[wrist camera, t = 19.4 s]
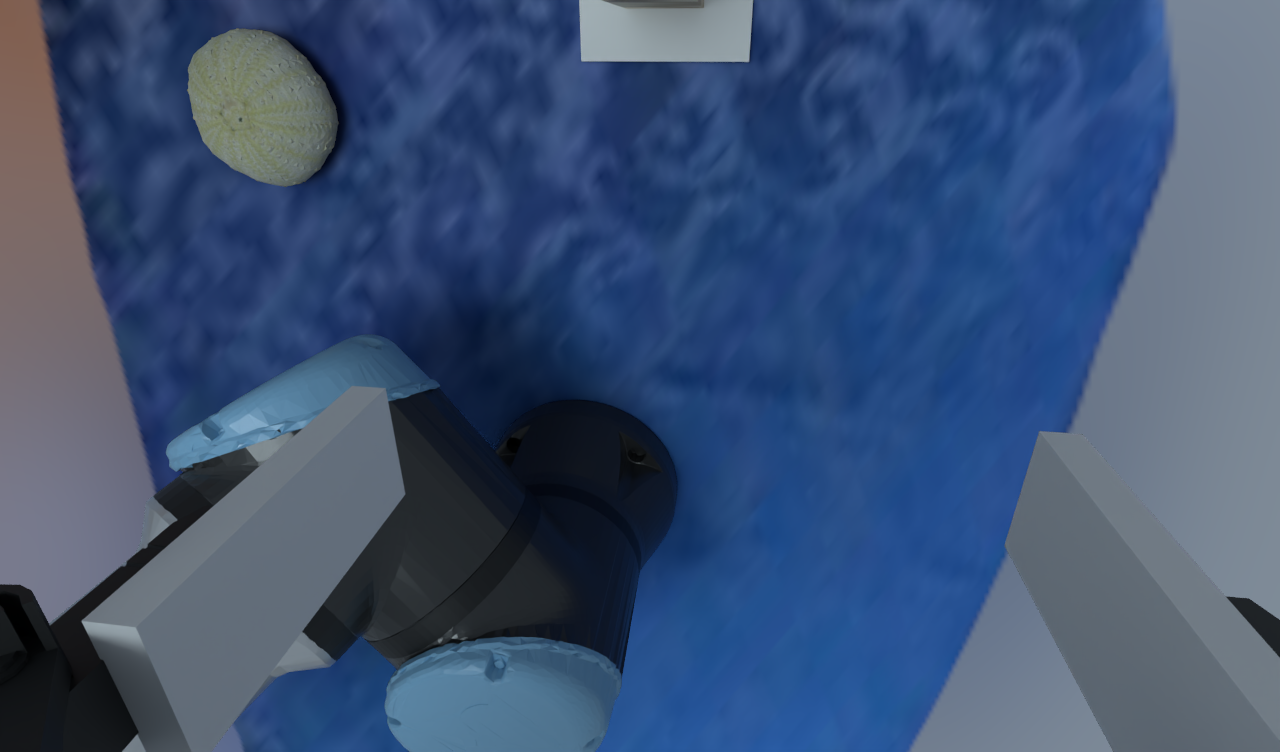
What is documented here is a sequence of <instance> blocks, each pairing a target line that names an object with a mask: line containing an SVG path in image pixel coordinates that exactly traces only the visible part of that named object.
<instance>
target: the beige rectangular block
mask: <svg viewBox="0 0 1280 752" xmlns="http://www.w3.org/2000/svg"><path fill="white" fill-rule="evenodd" d="M602 1H605V2H608V3H611V4H614V5H617V6H620V7H623V8H626V9H639V8H704V0H602Z"/></svg>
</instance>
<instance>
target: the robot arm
mask: <svg viewBox="0 0 1280 752" xmlns="http://www.w3.org/2000/svg"><path fill="white" fill-rule="evenodd" d="M439 387H441V386H440V385H439V383H438V382H437V381H436V380H433V379H430V378H429V377H428V376H427V375H426V374H425V373H424V372H423V371H422V370H421V369H420V368H419V367H418V366H417V365H416V364H415V363H414V362H413V361H412V360H411V359H410V358H409V357H408V356H407V355H406V354H405V353H404V352H403V351H402V350H401V349H400V348H399V347H398V346H397V345H396V344H395V343H393V342H392V341H390V340H389V339H387V338H384V337H382V336H378V335H359V336H355V337H352V338H349V339H346V340H344V341H342V342H340V343H338V344H336V345H334V346H332V347H330V348H328V349H326V350H324V351H322V352H320V353H318V354H316V355H314V356H312V357H311V358H309V359H307V360H305V361H303V362H301V363H300V364H298V365H296V366H294V367H292V368H290V369H289V370H287V371H285V372H283V373H281V374H280V375H278V376H276V377H274V378H273V379H271V380H269V381H267V382H266V383H264V384H262V385H260V386H259V387H257V388H255V389H254V390H252V391H250V392H249V393H247V394H245V395H243V396H242V397H240V398H238V399H237V400H235V401H234V402H232V403H230V404H229V405H227V406H225V407H224V408H222V409H221V410H220V411H219V412H218V413H215V414H213V415H212V416H210V417H208V418H207V419H206V420H204V421H203V422H201V423H200V424H197V425H195V426H193V427H191V428H190V429H188V430H187V431H185V432H184V433H182V434H181V435H179V436H178V437H176V438H175V439H174V440H173V441H171V442H170V444H169V445H168V446H167V451H166V455H167V456H168V458H169V460H170V462H169V466H170V468H172V469H173V470H175V471H176V472H177V471H179V470H181V471H183V473H182V474H180V476H179V477H177V478H176V479H175V480H174V481H172V482H171V483H170V484H168V485H167V486H166V487H164V488H163V489H162V490H161V491H159V492H158V493H157V494H155V495H154V496H153V497H151V498H150V499H149V500H148V501H147V502H146V507H145V515H144V523H143V531H142V538H141V542H140V545H139V547H138V549H137V552H136V554H135V555H133V556H132V557H131V558H130V559H128V560H127V561H126V562H125V563H123V564H122V565H121V566H120V567H118V568H117V569H116V570H115V571H114V572H112V573H111V574H110V575H109V576H107V577H106V578H105V579H104V580H102V581H101V582H100V583H99V584H97V585H96V586H95V587H94V588H92V589H91V590H90V591H89V592H88V593H86V594H85V595H84V596H83V597H81V598H80V599H79V600H78V601H76V602H75V603H74V604H73V605H71V606H70V607H69V608H68V609H66V610H65V611H64V612H63V613H61V614H60V615H59V616H58V617H57V618H55V619H54V620H53V621H52V622H50V623H48V621H47V619H46V617H45V615H44V613H43V612H42V610H41V608H40V606H39V604H38V602H37V600H36V598H35V596H34V594H33V592H32V591H31V590H29V589H27V588H25V587H23V586H21V585H0V752H212V751H213V749H214V748H215V747H216V745H217V744H218V742H219V741H220V740H221V738H222V737H223V736H224V735H225V733H226V732H227V731H228V729H229V728H230V727H231V725H232V724H233V723H234V721H235V720H236V719H237V718H238V717H239V716H240V715H241V714H242V713H243V711H244V710H245V709H246V708H247V707H248V706H249V705H250V704H251V703H252V702H253V701H254V700H255V699H256V698H257V697H258V696H259V695H260V694H261V693H262V692H263V691H264V690H265V689H266V688H267V687H268V686H269V685H270V684H271V683H272V682H273V681H274V680H275V679H276V678H277V677H279V676H281V675H283V674H285V673H288V672H292V671H300V670H308V669H317V668H325V667H330V666H331V665H332V664H334V663H335V662H336V661H337V660H338V659H339V658H340V657H341V656H342V655H343V654H344V653H345V652H346V651H347V650H348V648H349V647H350V646H351V645H352V644H353V643H354V642H355V641H356V640H357V639H358V638H359V637H360V636H362V637H363V638H364V639H365V640H367V641H368V642H369V643H370V644H371V645H372V646H373V647H374V648H375V649H376V650H377V651H379V652H380V653H381V654H382V655H383V656H384V657H385V658H386V659H387V660H388V661H389V662H390V663H391V664H392V665H393V666H394V667H395V668H396V669H397V671H395V672H394V674H393V675H392V677H391V679H390V681H389V682H388V686H387V696H386V701H385V711H386V714H387V715H388V718H387V723H388V725H389V728H390V730H391V732H392V733H393V735H394V736H395V738H396V739H397V740H398V741H399V742H400V743H401V744H402V745H403V746H404V747H405V748H406V749H407V750H408V751H409V752H595V751H596V750H597V748H598V747H599V746H600V744H601V742H602V740H603V738H604V736H605V734H606V732H607V728H608V725H609V721H610V717H611V713H612V710H613V706H614V702H615V700H616V698H617V697H618V695H619V693H620V689H621V684H622V673H623V667H624V661H625V656H626V650H627V644H628V638H629V632H630V626H631V620H632V614H633V608H634V602H635V596H636V591H637V585H638V578H639V573H640V570H641V569H642V567H643V566H644V565H645V563H646V562H647V561H648V559H649V558H650V557H651V555H652V554H653V553H654V551H655V550H656V549H657V547H658V546H659V544H660V543H661V542H662V540H663V539H664V537H665V536H666V534H667V532H668V530H669V528H670V525H671V522H672V519H673V516H674V510H675V504H676V497H677V478H676V473H675V469H674V466H673V463H672V460H671V458H670V456H669V454H668V452H667V450H666V449H665V447H664V446H663V444H662V443H661V442H660V440H659V439H658V438H657V437H656V436H655V434H654V433H653V432H652V431H651V430H650V429H648V428H647V427H646V426H645V425H644V424H643V423H641V422H640V421H638V420H637V419H636V418H634V417H632V416H631V415H629V414H627V413H625V412H623V411H621V410H619V409H617V408H614V407H611V406H608V405H605V404H601V403H597V402H592V401H584V400H565V401H557V402H552V403H548V404H545V405H542V406H539V407H537V408H534V409H532V410H530V411H528V412H527V413H525V414H524V415H522V416H521V417H520V418H518V419H517V420H516V421H515V422H514V423H513V424H512V425H511V426H510V427H509V428H508V430H507V431H506V432H505V434H504V435H503V437H502V439H501V440H500V442H499V444H498V445H497V447H496V449H495V450H493V449H492V448H491V446H490V445H489V444H488V443H487V442H486V441H485V440H484V439H483V438H482V436H481V435H480V434H479V433H478V432H477V431H476V430H475V429H474V428H473V426H472V425H471V424H470V423H469V422H468V421H467V420H466V419H465V417H464V416H463V415H462V414H461V413H460V412H459V411H458V409H457V408H456V407H455V406H454V405H453V404H452V403H451V401H450V400H449V399H448V398H447V397H446V396H445V394H444V393H443V392H442V391H441V390H440V389H439ZM1005 548H1006V549H1007V551H1008V553H1009V555H1010V557H1011V559H1012V560H1013V563H1014V565H1015V566H1016V568H1017V570H1018V572H1019V574H1020V576H1021V578H1022V580H1023V582H1024V584H1025V585H1026V587H1027V589H1028V591H1029V593H1030V595H1031V597H1032V599H1033V600H1034V602H1035V604H1036V606H1037V608H1038V610H1039V612H1040V614H1041V616H1042V617H1043V620H1044V621H1045V623H1046V625H1047V627H1048V629H1049V631H1050V633H1051V635H1052V636H1053V638H1054V640H1055V642H1056V644H1057V646H1058V648H1059V650H1060V652H1061V654H1062V656H1063V657H1064V659H1065V661H1066V663H1067V665H1068V667H1069V669H1070V670H1071V673H1072V674H1073V676H1074V678H1075V680H1076V682H1077V684H1078V686H1079V687H1080V690H1081V692H1082V693H1083V695H1084V697H1085V699H1086V701H1087V703H1088V705H1089V706H1090V709H1091V710H1092V712H1093V714H1094V716H1095V718H1096V720H1097V722H1098V724H1099V726H1100V727H1101V729H1102V731H1103V733H1104V735H1105V737H1106V739H1107V741H1108V743H1109V744H1110V746H1111V748H1112V750H1113V752H1280V620H1279V619H1278V618H1276V617H1274V616H1273V615H1272V614H1270V613H1269V612H1267V611H1266V610H1264V609H1263V608H1262V607H1260V606H1259V605H1257V604H1256V603H1254V602H1253V601H1252V600H1250V599H1247V598H1235V597H1226V596H1225V595H1224V594H1223V593H1222V592H1221V591H1220V589H1219V588H1218V587H1217V586H1216V585H1215V584H1214V583H1213V582H1212V580H1211V579H1210V578H1209V577H1208V576H1207V575H1206V574H1205V573H1204V572H1203V570H1202V569H1201V568H1200V567H1199V566H1198V565H1197V563H1196V562H1195V561H1194V560H1193V559H1192V558H1191V557H1190V555H1189V554H1188V553H1187V552H1186V551H1185V550H1184V549H1183V548H1182V546H1180V544H1179V543H1178V542H1177V541H1176V540H1175V539H1174V537H1173V536H1172V535H1171V534H1170V533H1169V532H1168V531H1167V530H1166V528H1165V527H1164V526H1163V525H1162V524H1161V523H1160V521H1159V520H1158V519H1157V518H1156V517H1155V516H1154V515H1153V514H1152V512H1151V511H1150V510H1149V509H1148V508H1147V507H1146V506H1145V505H1144V503H1143V502H1142V501H1141V500H1140V499H1139V498H1138V497H1137V495H1136V494H1135V493H1134V492H1133V491H1132V490H1131V489H1130V487H1129V486H1128V485H1127V484H1126V483H1125V482H1124V481H1123V480H1122V478H1121V477H1120V476H1119V475H1118V474H1117V473H1116V472H1115V470H1114V469H1113V468H1112V467H1111V466H1110V465H1109V464H1108V463H1107V461H1106V460H1105V459H1104V458H1103V457H1102V456H1101V455H1100V453H1099V452H1098V451H1097V450H1096V449H1095V448H1094V447H1093V446H1092V444H1091V443H1090V442H1089V441H1088V440H1087V439H1086V438H1085V436H1084V435H1083V434H1072V433H1057V432H1042V431H1039V434H1038V437H1037V441H1036V444H1035V447H1034V450H1033V454H1032V457H1031V460H1030V464H1029V467H1028V470H1027V473H1026V477H1025V480H1024V483H1023V487H1022V490H1021V493H1020V496H1019V500H1018V503H1017V506H1016V509H1015V513H1014V516H1013V519H1012V523H1011V526H1010V529H1009V532H1008V536H1007V539H1006V542H1005Z"/></svg>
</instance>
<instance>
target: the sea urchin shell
mask: <svg viewBox="0 0 1280 752" xmlns="http://www.w3.org/2000/svg"><path fill="white" fill-rule="evenodd" d="M189 66H190V67H188V72H189V82H188V86H189V88H188V90H187V91H188V93H189V94H190V101H191V105H192V112H193V119H194V120H195V121H196V124H197V126H198V128H199V131H200V134H201V136H202V140H203V142H204V143H205V144H206V145H207V146H208V147H209V149H210V150H211V151H212V153H213V154H215V155H216V156H217V157H218V158H220V159H221V160H223V161H224V162H225V163H227V164H228V165H229V166H230V167H231V168H233V169H234V170H237V171H239V172H241V173H243V174H246V175H248V176H250V177H251V178H253V179H256V181H261V182H265V183H268V184H273V185H280V186H284V187H286V186H292V185H295V184H300V183H302V182H306V180H307V179H309V178H310V177H311V176H312V175H313V174H314V173H315V172H317V171H318V170H320V169H321V166H322V165H323V164H324V162H325V159H326V158H327V156H328V154H329V153H331V151H332V148H333V147H334V145H335V143H334V142H335V141H336V133H337V127H338V124H339V122H338V117H337V112H336V106H335V104H334V102H333V100H332V99H331V96H330V94H329V91H328V89H327V87H326V83H325V82H324V81H323V80H322V78H321V76H319V75H318V74H317V73H316V72H315V70H314V68H313V67H312V65H311V64H310V62H309V61H308V60H307V58H306V57H305V56H303V55H302V54H301V53H300V52H299V51H297V50H296V49H295V48H294V47H293V46H292V45H291V44H290V43H289V42H288V41H287V40H286V39H283V38H281V37H279V36H277V35H275V34H273V33H272V32H268V31H263V30H255V29H254V30H248V29H244V28H243V29H238V28H237V29H235V30H230V31H228V32H227V33H225V34H221V35H219V36H217V37H215V38H214V37H212V39H211V40H209V42H208V43H206V44H205V45H204V46H203V47H202V48H200V49H199V50H198V51H197V52H196V53H195V54H194V55H193V57H192V60H191V63H190V65H189Z"/></svg>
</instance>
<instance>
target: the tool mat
mask: <svg viewBox="0 0 1280 752" xmlns="http://www.w3.org/2000/svg"><path fill="white" fill-rule="evenodd" d="M579 4H580V34H581V61H648V62H749V55H750V40H751V24H752V9H753V0H704V8H639V9H626V8H623V7H620V6H617V5H614V4H611V3H608V2H605V1H602V0H579Z"/></svg>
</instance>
